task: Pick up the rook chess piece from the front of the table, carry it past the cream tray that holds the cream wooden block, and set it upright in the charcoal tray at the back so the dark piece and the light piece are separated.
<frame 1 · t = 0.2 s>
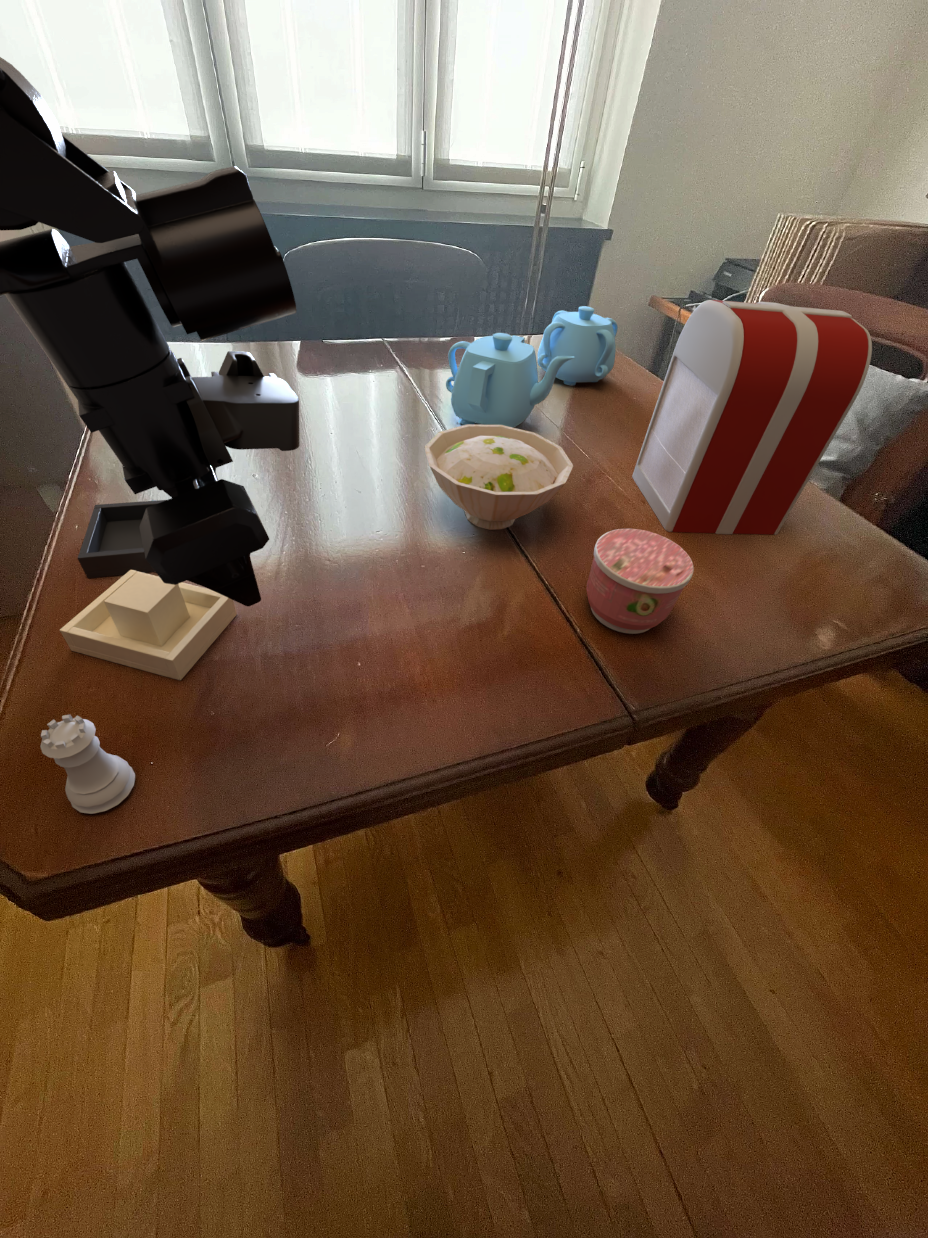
hand: (240, 566, 42), 14 cm above the table, tool pointing down, fingers open, 9 cm apart
rook chess piece: (106, 790, 43), on the table
teapot: (499, 423, 99), on the table
red striped display case: (700, 504, 84), on the table
container: (622, 611, 64), on the table
decorative pot: (571, 377, 120), on the table
charcoal tray: (141, 545, 64), on the table
cream block: (155, 626, 54), point 1 cm above the table, touching cream tray
cream tray: (158, 631, 55), on the table
bowl: (490, 516, 76), on the table
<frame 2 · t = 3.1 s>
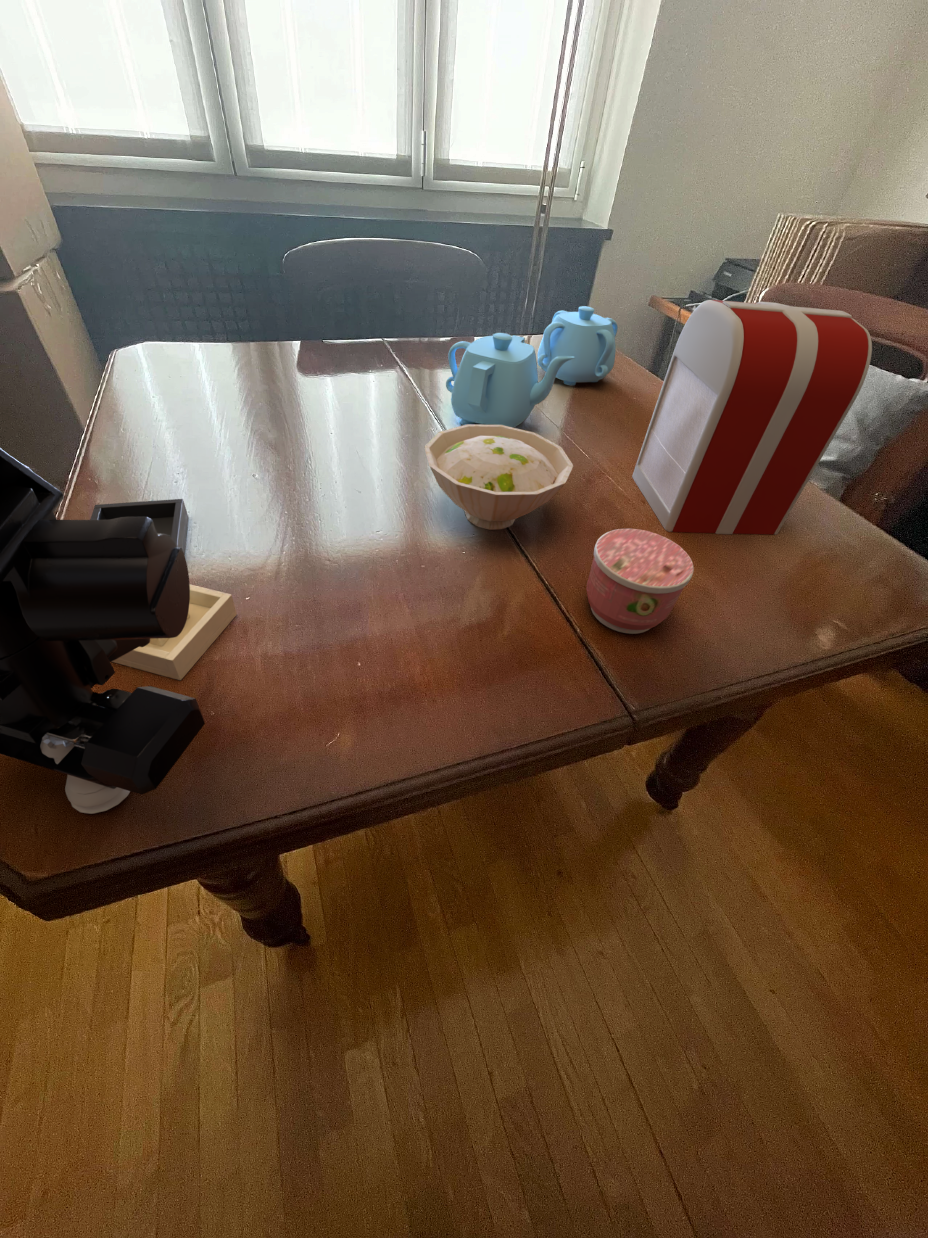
hand: (95, 776, 41), 2 cm above the table, tool pointing down, fingers closed on rook chess piece, 3 cm apart
rook chess piece: (106, 790, 43), on the table, touching gripper
everything else where it was.
when the fingers open (3 cm above the table, at t = 9.2 s): rook chess piece stays where it is, resting on charcoal tray.
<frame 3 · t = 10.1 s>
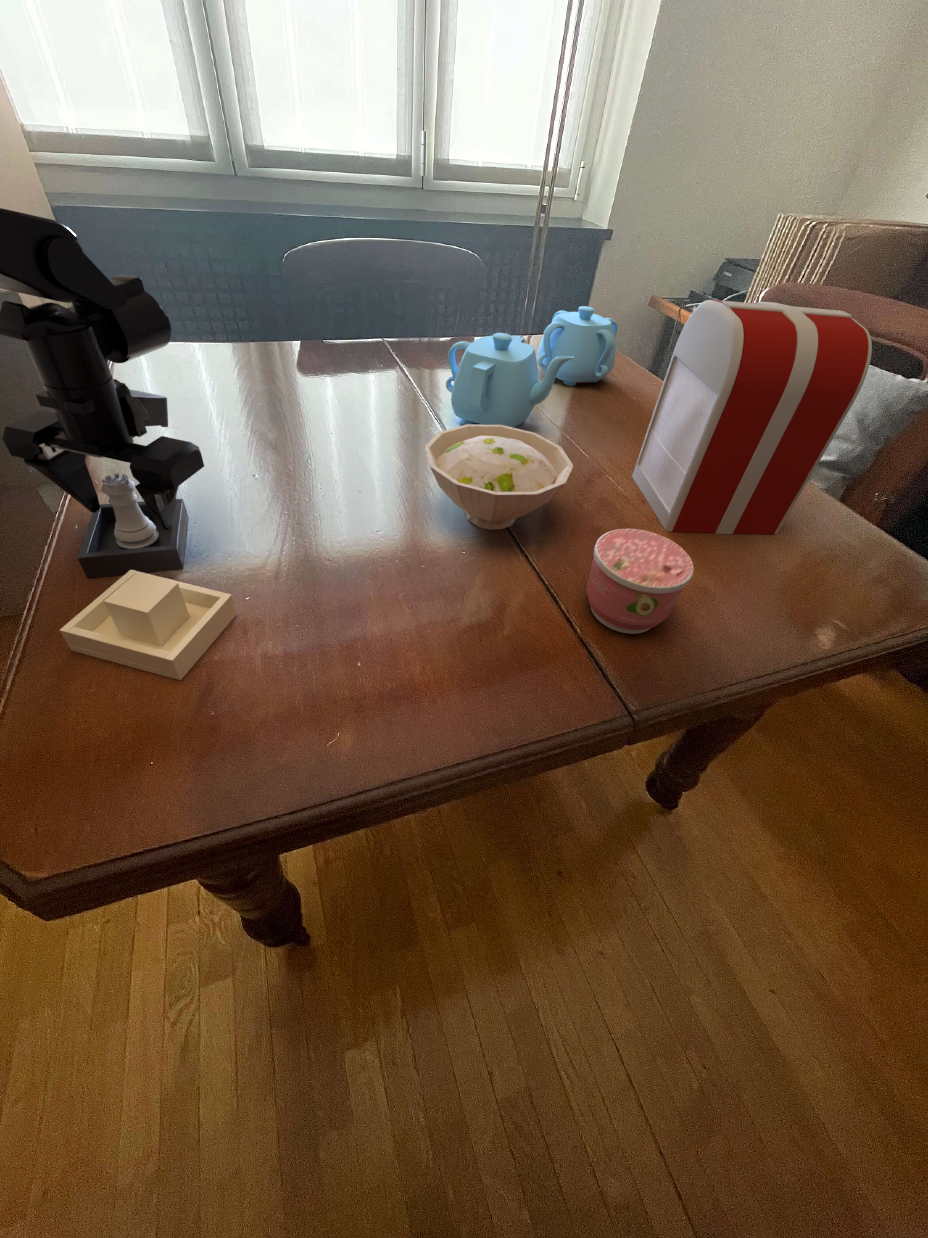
hand: (131, 519, 62), 4 cm above the table, tool pointing down, fingers open, 9 cm apart
rook chess piece: (139, 541, 64), point 1 cm above the table, touching charcoal tray
everything else where it was.
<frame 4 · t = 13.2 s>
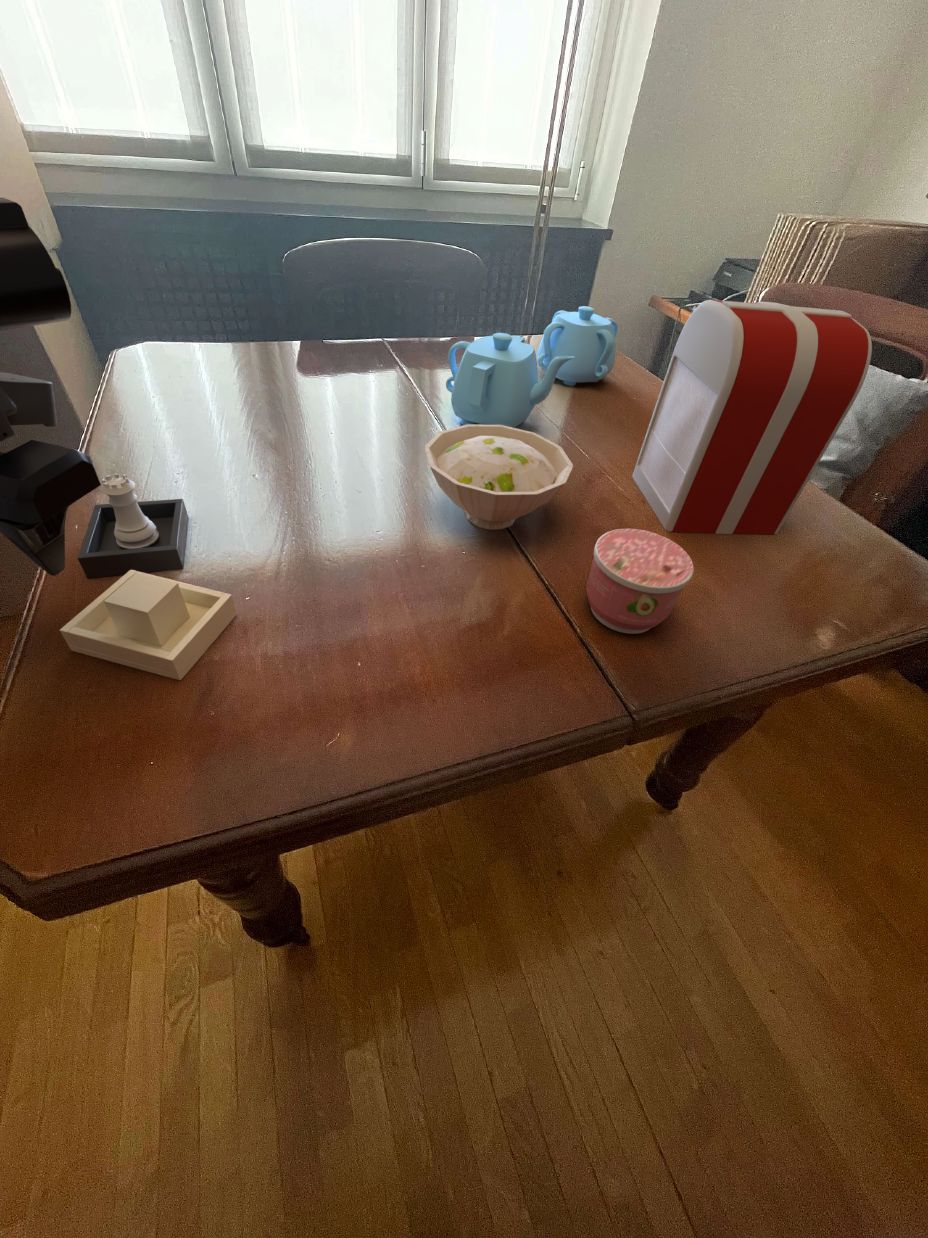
hand: (7, 559, 43), 12 cm above the table, tool pointing down, fingers open, 9 cm apart
nothing on the table moved.
at the end: rook chess piece 0.1 cm off-centre in the charcoal tray, point 0.6 cm above the charcoal tray's base; rook chess piece tilted 0°; cream block moved 0.0 cm from its start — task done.
